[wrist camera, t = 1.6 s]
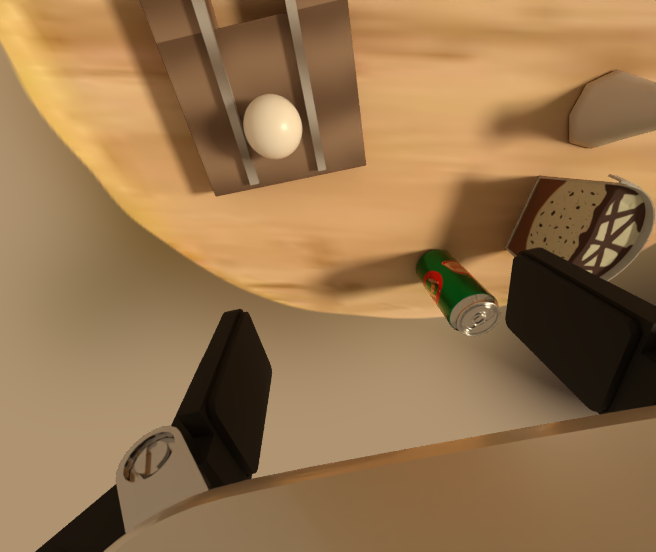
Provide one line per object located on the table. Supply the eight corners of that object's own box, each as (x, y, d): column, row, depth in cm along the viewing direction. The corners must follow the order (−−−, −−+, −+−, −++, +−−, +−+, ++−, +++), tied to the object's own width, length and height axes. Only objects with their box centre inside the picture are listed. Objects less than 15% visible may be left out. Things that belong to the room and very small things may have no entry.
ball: (242, 102, 25) (227, 99, 21) (295, 90, 25) (292, 84, 21) (259, 160, 28) (249, 168, 23) (308, 150, 27) (307, 156, 23)
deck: (115, -102, 21) (79, -144, 18) (323, -158, 20) (325, -212, 17) (223, 190, 32) (213, 198, 28) (361, 161, 31) (367, 166, 28)
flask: (620, 144, 31) (738, 153, 23) (556, 152, 32) (650, 164, 23) (650, 65, 28) (803, 40, 19) (578, 74, 28) (697, 54, 19)
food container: (541, 262, 39) (607, 303, 30) (500, 258, 38) (556, 299, 29) (592, 168, 33) (694, 186, 24) (545, 162, 32) (632, 178, 23)
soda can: (459, 261, 38) (515, 314, 27) (432, 286, 40) (474, 346, 29) (434, 240, 36) (483, 290, 26) (407, 268, 38) (442, 325, 28)
